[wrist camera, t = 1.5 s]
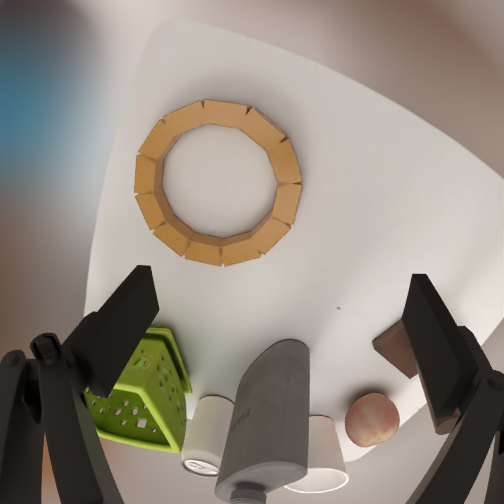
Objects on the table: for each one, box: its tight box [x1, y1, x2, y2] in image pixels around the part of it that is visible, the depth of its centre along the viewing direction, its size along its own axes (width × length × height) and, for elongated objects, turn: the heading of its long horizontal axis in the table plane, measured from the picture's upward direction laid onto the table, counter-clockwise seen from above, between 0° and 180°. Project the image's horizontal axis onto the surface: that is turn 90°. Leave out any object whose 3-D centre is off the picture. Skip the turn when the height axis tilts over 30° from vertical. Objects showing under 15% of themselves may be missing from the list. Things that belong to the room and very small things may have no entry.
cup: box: [284, 416, 349, 493], centre depth 42 cm, size 10×10×11 cm
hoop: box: [134, 100, 302, 267], centre depth 31 cm, size 16×16×2 cm
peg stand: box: [372, 319, 460, 435], centre depth 30 cm, size 9×9×14 cm
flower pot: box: [84, 327, 192, 453], centre depth 38 cm, size 14×14×13 cm
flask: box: [215, 340, 310, 504], centre depth 33 cm, size 15×6×20 cm, turn 154°
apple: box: [345, 393, 400, 447], centre depth 39 cm, size 8×8×8 cm
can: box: [182, 396, 234, 478], centre depth 42 cm, size 6×6×12 cm
